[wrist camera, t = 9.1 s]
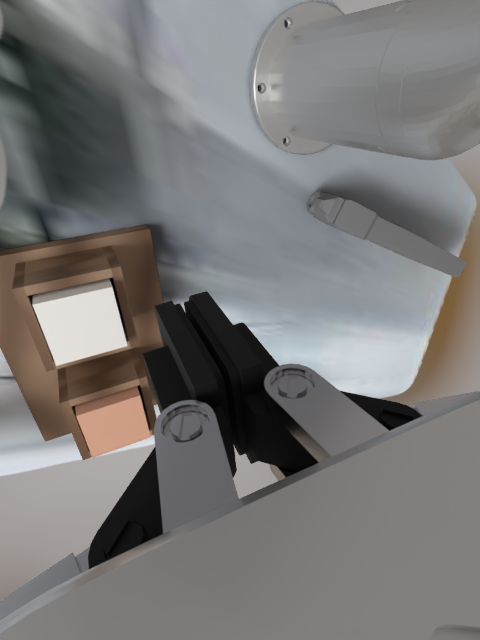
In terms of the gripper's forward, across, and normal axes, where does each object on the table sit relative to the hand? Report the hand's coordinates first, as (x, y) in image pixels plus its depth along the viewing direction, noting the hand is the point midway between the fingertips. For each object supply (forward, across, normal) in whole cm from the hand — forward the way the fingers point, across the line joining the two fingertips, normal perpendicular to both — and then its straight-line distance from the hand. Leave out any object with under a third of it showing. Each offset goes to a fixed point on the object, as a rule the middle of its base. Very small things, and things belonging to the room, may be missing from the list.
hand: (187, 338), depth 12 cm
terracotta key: (+25, +5, +22) cm, 33 cm away
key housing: (+28, +5, +16) cm, 33 cm away
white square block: (+25, +5, +10) cm, 27 cm away
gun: (+29, -32, +12) cm, 45 cm away
